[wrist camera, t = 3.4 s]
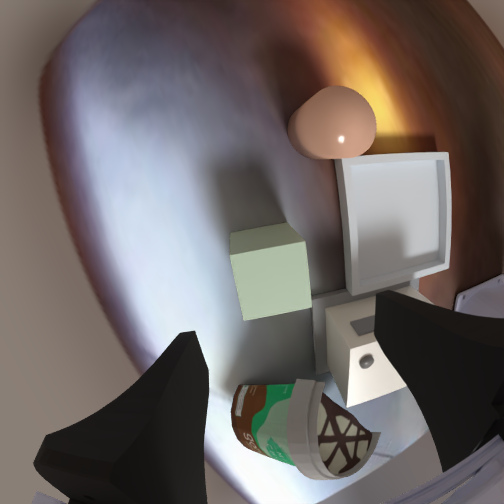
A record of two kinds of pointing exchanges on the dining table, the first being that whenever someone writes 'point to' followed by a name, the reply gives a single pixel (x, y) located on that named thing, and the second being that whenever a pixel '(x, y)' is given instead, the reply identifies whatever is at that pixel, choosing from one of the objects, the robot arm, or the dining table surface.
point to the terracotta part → (333, 125)
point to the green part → (270, 270)
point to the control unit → (354, 343)
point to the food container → (301, 429)
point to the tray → (394, 217)
